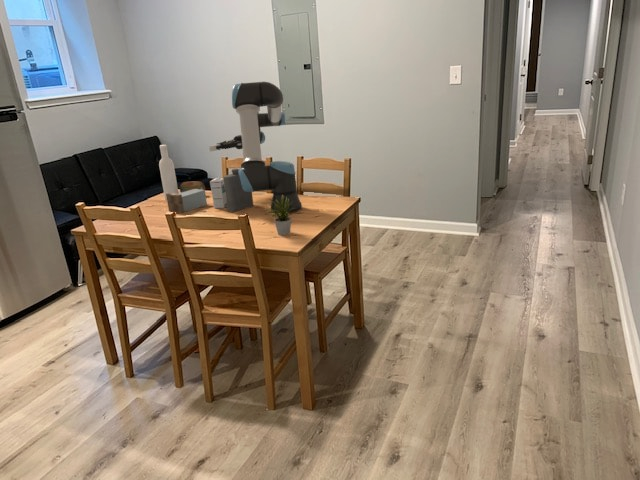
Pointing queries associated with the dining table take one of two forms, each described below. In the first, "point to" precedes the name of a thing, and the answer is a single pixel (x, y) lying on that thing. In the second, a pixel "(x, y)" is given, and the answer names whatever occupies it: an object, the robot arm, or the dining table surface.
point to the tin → (191, 186)
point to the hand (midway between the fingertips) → (210, 148)
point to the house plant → (282, 217)
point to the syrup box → (218, 193)
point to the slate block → (193, 199)
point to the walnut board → (175, 202)
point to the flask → (236, 193)
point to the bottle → (167, 172)
